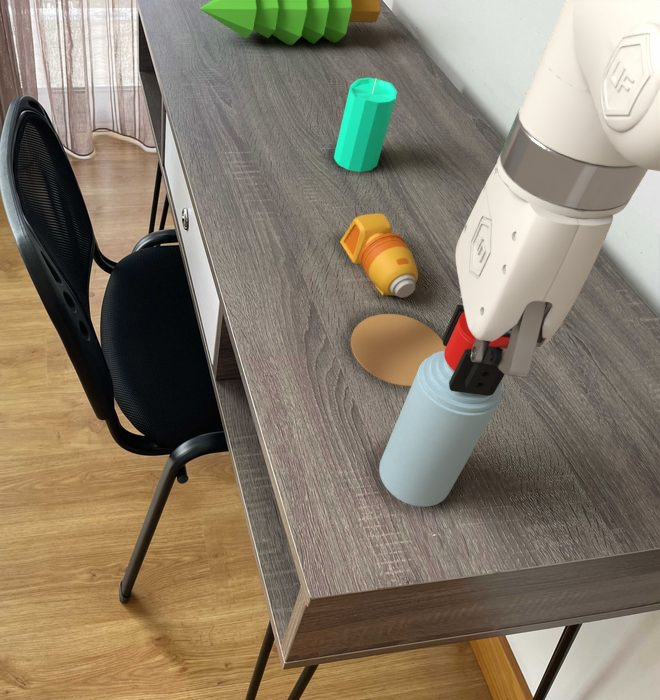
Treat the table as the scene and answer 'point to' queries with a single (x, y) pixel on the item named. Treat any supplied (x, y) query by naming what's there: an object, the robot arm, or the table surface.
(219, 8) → the decorative tree
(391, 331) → the coaster
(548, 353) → the table surface
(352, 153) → the candle
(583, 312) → the table surface
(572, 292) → the robot arm
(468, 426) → the bottle
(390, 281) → the yellow plastic toy
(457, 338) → the cap
